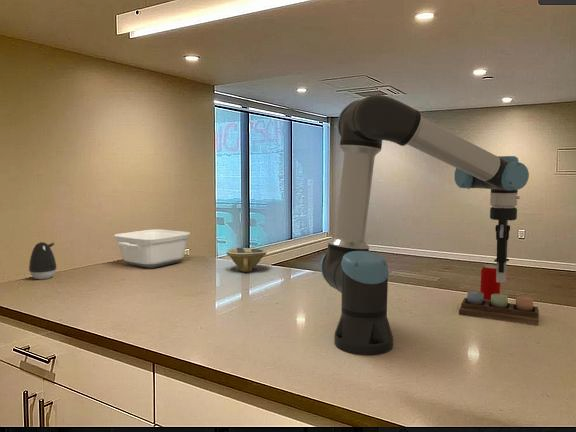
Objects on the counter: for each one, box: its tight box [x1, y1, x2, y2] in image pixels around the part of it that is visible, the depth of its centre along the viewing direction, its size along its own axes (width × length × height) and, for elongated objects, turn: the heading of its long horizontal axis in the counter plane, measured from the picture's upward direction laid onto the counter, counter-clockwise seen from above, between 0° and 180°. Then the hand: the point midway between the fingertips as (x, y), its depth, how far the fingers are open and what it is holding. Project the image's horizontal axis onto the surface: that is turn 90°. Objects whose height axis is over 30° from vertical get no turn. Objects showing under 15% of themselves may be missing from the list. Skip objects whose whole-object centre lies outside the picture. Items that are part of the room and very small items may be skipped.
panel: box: [458, 297, 540, 326], centre depth 145 cm, size 12×22×3 cm, turn 62°
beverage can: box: [479, 264, 501, 301], centre depth 161 cm, size 6×6×12 cm
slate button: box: [466, 290, 484, 304], centre depth 148 cm, size 5×5×3 cm
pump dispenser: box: [28, 241, 57, 280], centre depth 194 cm, size 10×10×15 cm
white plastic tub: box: [113, 228, 191, 269], centre depth 223 cm, size 34×29×15 cm
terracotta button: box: [515, 296, 534, 311], centre depth 142 cm, size 5×5×3 cm
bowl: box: [226, 247, 267, 273], centre depth 209 cm, size 18×18×10 cm
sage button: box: [491, 293, 509, 307], centre depth 145 cm, size 5×5×3 cm
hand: (501, 282), depth 144 cm, fingers closed
